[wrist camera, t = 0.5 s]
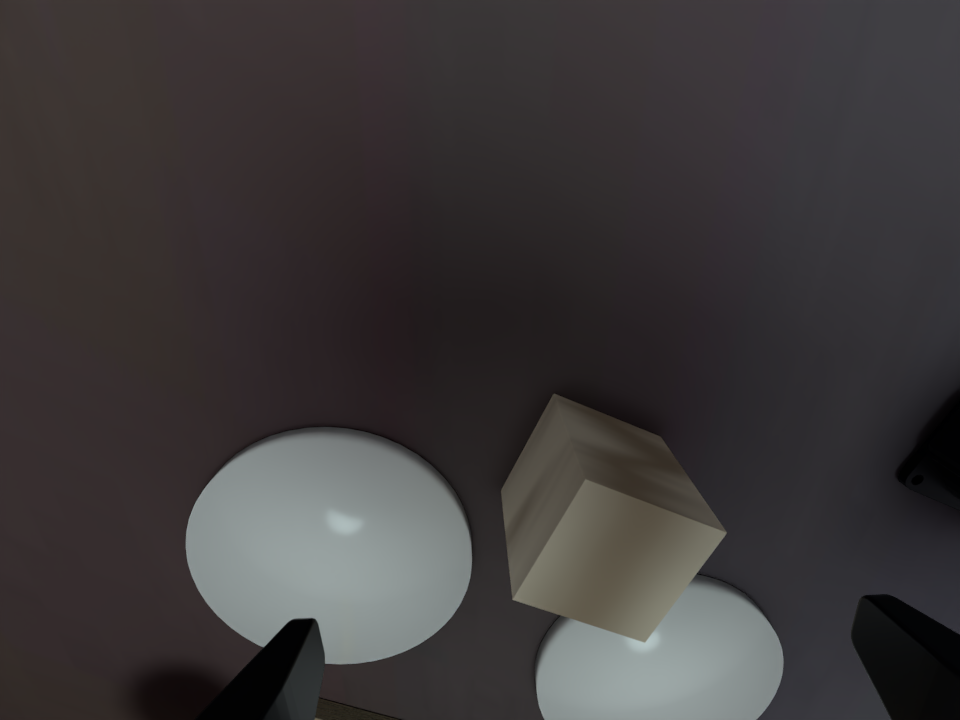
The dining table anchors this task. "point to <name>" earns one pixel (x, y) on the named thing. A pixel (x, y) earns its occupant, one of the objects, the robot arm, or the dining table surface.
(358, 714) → the balance
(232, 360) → the dining table surface
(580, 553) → the block
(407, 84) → the dining table surface
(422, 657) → the dining table surface
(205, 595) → the pale round disc
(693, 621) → the shallow white plate
